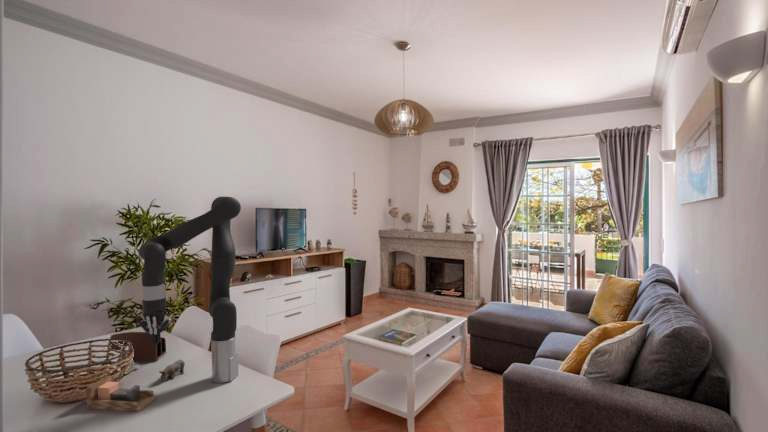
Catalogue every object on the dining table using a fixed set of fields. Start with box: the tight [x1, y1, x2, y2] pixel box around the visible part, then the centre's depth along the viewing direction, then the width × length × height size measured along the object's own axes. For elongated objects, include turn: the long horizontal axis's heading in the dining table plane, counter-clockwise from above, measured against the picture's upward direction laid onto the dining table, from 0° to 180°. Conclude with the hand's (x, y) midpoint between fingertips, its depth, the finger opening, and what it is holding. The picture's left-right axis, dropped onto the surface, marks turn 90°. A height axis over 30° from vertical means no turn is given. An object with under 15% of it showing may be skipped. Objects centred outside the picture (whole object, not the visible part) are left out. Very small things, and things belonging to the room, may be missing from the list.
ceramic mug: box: [109, 354, 140, 375], centre depth 171 cm, size 11×8×8 cm
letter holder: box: [110, 331, 167, 363], centre depth 184 cm, size 10×20×14 cm, turn 96°
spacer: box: [98, 381, 120, 400], centre depth 146 cm, size 4×4×6 cm
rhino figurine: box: [157, 359, 185, 383], centre depth 165 cm, size 4×14×6 cm, turn 163°
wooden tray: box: [85, 375, 157, 413], centre depth 145 cm, size 20×9×8 cm, turn 83°
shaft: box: [110, 384, 141, 402], centre depth 145 cm, size 8×4×4 cm, turn 83°
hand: (156, 343), depth 146 cm, fingers closed
